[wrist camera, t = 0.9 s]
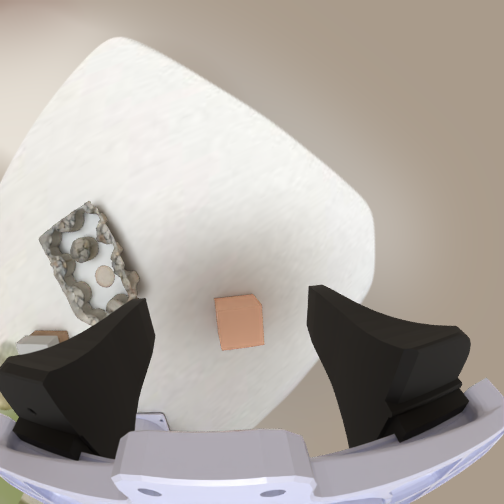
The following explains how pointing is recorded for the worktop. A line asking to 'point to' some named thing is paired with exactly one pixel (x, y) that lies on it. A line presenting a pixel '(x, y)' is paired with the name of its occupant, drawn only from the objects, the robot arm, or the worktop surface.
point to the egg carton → (81, 253)
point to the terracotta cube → (239, 321)
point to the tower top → (35, 343)
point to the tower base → (52, 334)
